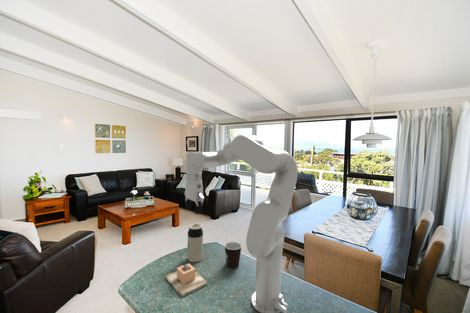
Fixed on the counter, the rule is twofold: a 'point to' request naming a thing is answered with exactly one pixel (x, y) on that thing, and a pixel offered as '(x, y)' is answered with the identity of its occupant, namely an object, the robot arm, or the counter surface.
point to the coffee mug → (232, 254)
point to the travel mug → (195, 243)
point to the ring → (186, 274)
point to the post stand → (187, 287)
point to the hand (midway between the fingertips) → (193, 211)
